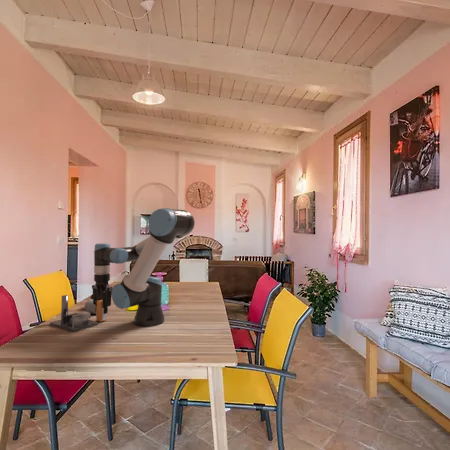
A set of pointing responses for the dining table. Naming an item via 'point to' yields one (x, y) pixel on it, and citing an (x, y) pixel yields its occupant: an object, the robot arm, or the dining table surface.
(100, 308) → the orange rectangular block
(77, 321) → the grey rock
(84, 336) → the dining table surface
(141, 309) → the robot arm
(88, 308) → the ceramic mug
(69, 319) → the dark block with post
